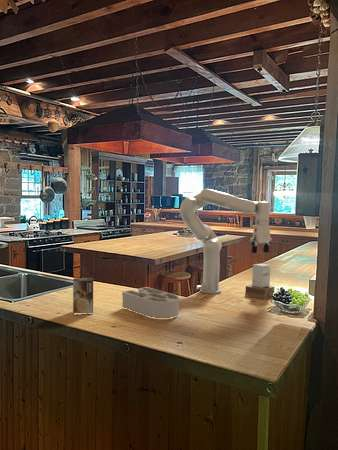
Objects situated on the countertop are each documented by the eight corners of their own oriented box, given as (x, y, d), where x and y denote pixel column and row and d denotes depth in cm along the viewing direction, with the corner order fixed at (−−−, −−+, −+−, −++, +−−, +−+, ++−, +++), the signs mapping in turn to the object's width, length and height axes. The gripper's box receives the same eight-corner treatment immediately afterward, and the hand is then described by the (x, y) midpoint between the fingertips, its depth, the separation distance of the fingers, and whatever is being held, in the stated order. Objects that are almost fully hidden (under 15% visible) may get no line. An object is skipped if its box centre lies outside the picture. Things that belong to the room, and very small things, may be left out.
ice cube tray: (146, 303, 194) (146, 286, 194) (186, 315, 175) (186, 297, 174) (121, 309, 182) (121, 291, 182) (161, 323, 163) (161, 304, 162)
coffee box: (92, 310, 177) (92, 277, 176) (93, 314, 171) (93, 280, 170) (72, 311, 175) (73, 278, 174) (72, 315, 169) (73, 281, 168)
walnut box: (263, 300, 207) (264, 289, 207) (245, 296, 215) (245, 286, 215) (273, 296, 216) (274, 286, 216) (255, 292, 224) (256, 283, 224)
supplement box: (262, 288, 211) (262, 266, 210) (251, 285, 216) (252, 264, 216) (270, 286, 215) (270, 264, 215) (259, 284, 221) (259, 263, 220)
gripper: (256, 223, 205) (254, 254, 206) (277, 223, 214) (275, 252, 216) (246, 222, 211) (244, 252, 212) (267, 222, 221) (265, 251, 222)
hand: (260, 252), depth 214 cm, fingers open, 9 cm apart
